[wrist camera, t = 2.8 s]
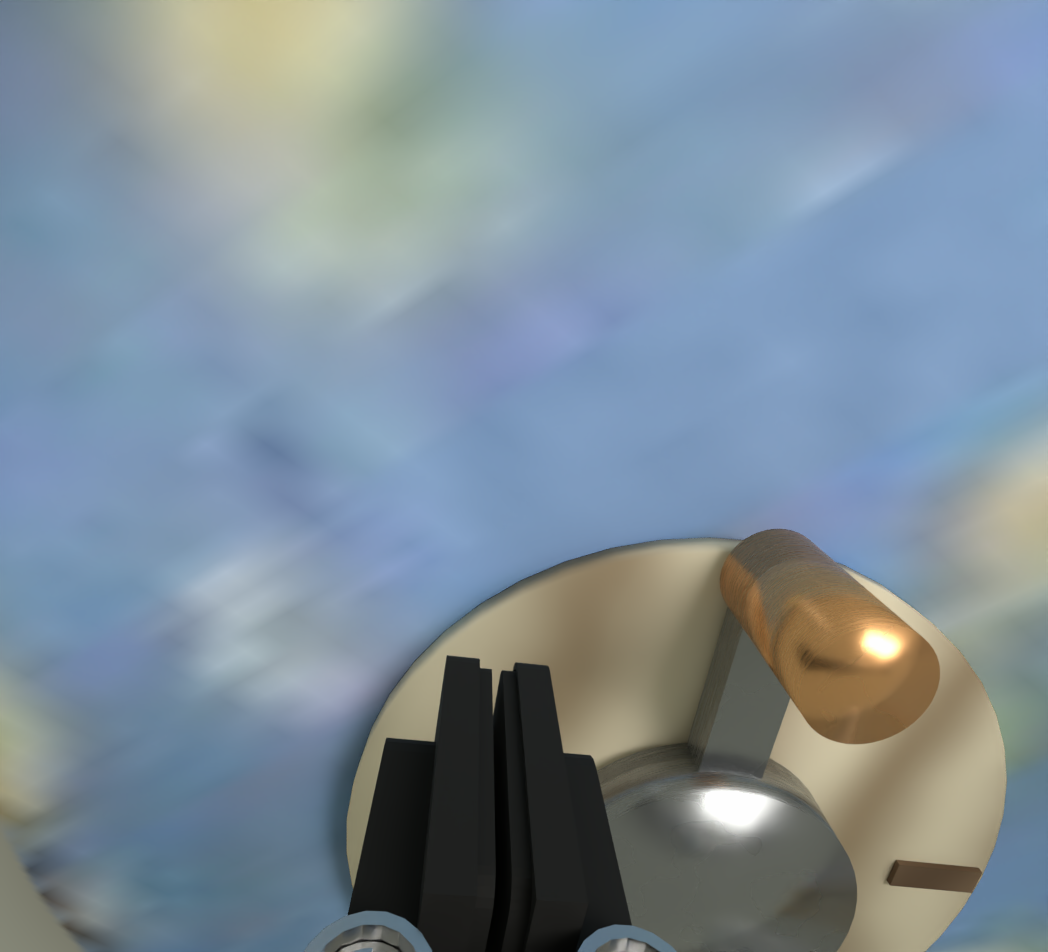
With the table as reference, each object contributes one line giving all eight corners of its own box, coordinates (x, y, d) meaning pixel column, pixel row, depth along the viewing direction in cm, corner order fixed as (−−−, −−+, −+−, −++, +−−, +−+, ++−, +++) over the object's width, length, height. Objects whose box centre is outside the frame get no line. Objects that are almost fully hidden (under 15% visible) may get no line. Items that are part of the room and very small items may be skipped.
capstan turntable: (777, 971, 23) (849, 1152, 18) (515, 950, 22) (518, 1135, 17) (950, 552, 18) (1115, 654, 13) (613, 505, 17) (657, 595, 12)
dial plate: (1094, 588, 20) (1130, 606, 19) (862, 1050, 27) (878, 1085, 26) (382, 489, 18) (374, 503, 17) (332, 1014, 25) (324, 1050, 24)
